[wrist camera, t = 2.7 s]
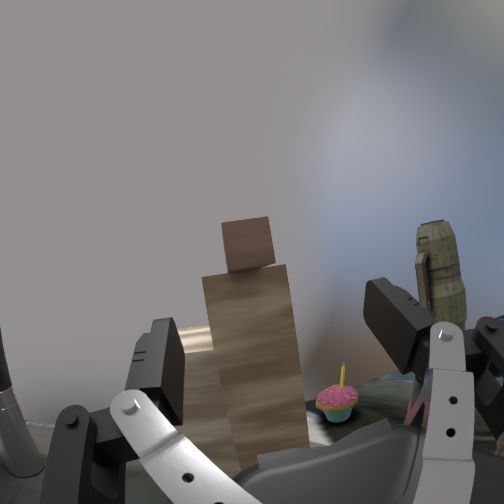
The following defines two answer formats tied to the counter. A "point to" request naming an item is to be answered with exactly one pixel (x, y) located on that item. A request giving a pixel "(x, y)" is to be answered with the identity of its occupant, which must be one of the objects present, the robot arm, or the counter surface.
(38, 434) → the counter surface
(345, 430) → the counter surface
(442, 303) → the thermos
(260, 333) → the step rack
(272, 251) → the walnut bar
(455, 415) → the robot arm
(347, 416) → the cupcake
